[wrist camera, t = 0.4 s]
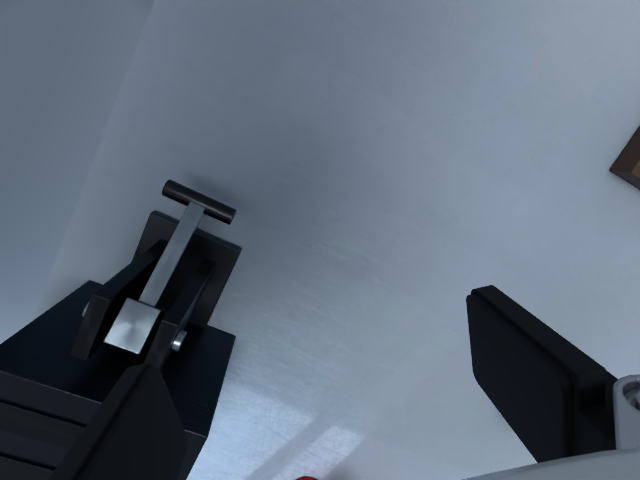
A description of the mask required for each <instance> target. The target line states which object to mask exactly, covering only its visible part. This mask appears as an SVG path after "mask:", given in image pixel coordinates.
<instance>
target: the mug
mask: <svg viewBox="0 0 640 480" xmlns="http://www.w3.org/2000/svg"><path fill="white" fill-rule="evenodd" d="M298 480H315V479H313V478H308V477H303V478H300V479H298Z"/></svg>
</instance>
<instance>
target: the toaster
mask: <svg viewBox="0 0 640 480" xmlns="http://www.w3.org/2000/svg"><path fill="white" fill-rule="evenodd" d="M101 286H103V285H101V284H98V283H95V282H93V281H90V280H89V281H88V282H86V283H85V284H84V285H82V286H81V287H79V288H78V289H77V290H75V291H74V292H72V293H71V294H70V295H68V296H67V297H65V298H64V299H63V300H61V301H60V302H59V303H57V304H56V305H54V306H53V307H52V308H50V309H49V310H47V311H46V312H45V313H43V314H42V315H40V316H39V317H38V318H36V319H35V320H33V321H32V322H31V323H29V324H28V325H27V326H25V327H24V328H22V329H21V330H20V331H18V332H17V333H15V334H14V335H13V336H12V337H10V338H8V339H7V340H6V341H4V342H3V343H2V344H0V480H48V479H49V478H50V476H51V475H52V473H53V472H54V471H55V469H56V468H57V466H58V465H59V464H60V462H61V461H62V459H63V458H64V457H65V455H66V454H67V452H68V451H69V449H70V448H71V447H72V445H73V444H74V442H75V441H76V440H77V438H78V437H79V435H80V434H81V433H82V431H83V430H84V428H85V427H86V425H87V424H88V423H89V421H90V420H91V418H92V417H93V416H94V414H95V413H96V411H97V410H98V409H99V407H100V406H101V404H102V403H103V402H104V400H105V399H106V397H107V396H108V394H109V393H110V392H111V390H112V389H113V387H114V386H115V385H116V383H117V382H118V380H119V379H120V378H121V376H122V375H123V373H124V372H125V370H126V369H127V368H129V367H132V366H136V365H141V364H143V363H144V361H145V359H146V356H147V354H148V352H149V349H150V347H151V345H152V342H153V340H154V338H155V335H156V333H157V331H158V328H159V326H160V324H161V322H160V324H159V326H158V328H157V330H156V332H155V334H154V336H153V338H152V340H151V342H150V344H149V346H148V348H147V350H146V351H144V352H142V353H141V354H136V353H133V352H130V351H127V350H124V349H121V348H118V347H116V346H113V345H110V344H107V343H104V342H103V343H102V345H101V346H100V347H99V348H98V349H97V350H96V351H95V352H94V353H93V354H92V356H91V357H90V358H89V359H88V360H87V361H85V360H82V359H79V358H76V357H73V356H70V353H71V350H72V348H73V345H74V342H75V340H76V337H77V334H78V331H79V329H80V326H81V323H82V320H83V318H82V313H83V310H84V308H85V307H86V305H87V304H88V302H89V301H90V299H91V296H92V294H93V293H94V292H95V291H96V290H98V289H99V288H100V287H101ZM158 308H159V307H158ZM161 309H162V308H161ZM164 310H165V309H164ZM165 311H166V312H165V314H164V316H165V315H166V314H167V312H168V311H167V310H165ZM164 316H163V318H164ZM163 318H162V319H163ZM161 321H162V320H161ZM183 330H185V331H187V334H186V336H185V338H184V340H183V343H182V345H181V347H180V349H179V351H178V352H175V351H171V353H170V354H169V356H168V358H167V360H166V362H165V363H164V365H163V367H162V369H161V374H162V376H163V379H164V381H165V384H166V386H167V388H168V391H169V393H170V396H171V398H172V401H173V403H174V406H175V408H176V411H177V413H178V415H179V418H180V420H181V423H182V425H183V428H184V430H185V433H186V435H187V439H188V448H187V452H186V455H185V458H184V461H183V464H182V467H181V470H180V473H179V476H178V479H177V480H186V479H187V477H188V475H189V473H190V471H191V469H192V467H193V465H194V463H195V461H196V459H197V457H198V455H199V453H200V451H201V449H202V447H203V445H204V443H205V441H206V439H207V438H208V434H209V431H210V427H211V424H212V420H213V416H214V413H215V409H216V406H217V402H218V399H219V395H220V391H221V388H222V384H223V381H224V377H225V373H226V370H227V366H228V363H229V359H230V355H231V352H232V348H233V345H234V341H235V338H236V336H234V335H231V334H229V333H226V332H224V331H221V330H218V329H216V328H213V327H210V326H208V325H204V324H201V323H199V322H196V321H193V320H191V319H189V320H188V322H187V324H186V326H185V327H184V329H183Z"/></svg>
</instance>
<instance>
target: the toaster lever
mask: <svg viewBox="0 0 640 480" xmlns="http://www.w3.org/2000/svg"><path fill="white" fill-rule="evenodd" d="M162 195H163V196H166V197H168V198H170V199H172V200H175V201H177V202H179V203H181V204H184V205H186V206H188V207H187V208H186V210H185V212H184V214H183V216H182V218H181V220H180V222H179V224H178V226H177V227H176V229H175V231H174V233H173V235H172V237H171V239H170V241H169V243H168V244H167V246H166V248H165V250H164V252H163V254H162V256H161V258H160V260H159V262H158V263H157V265H156V267H155V269H154V271H153V273H152V275H151V277H150V279H149V280H148V282H147V284H146V286H145V288H144V290H143V292H142V294H141V296H140V298H139V299H138V300H137V299H134V298H126V299H125V301H124V303H123V305H122V307H121V309H120V310H119V312H118V314H117V316H116V318H115V320H114V322H113V323H112V325H111V327H110V329H109V331H108V333H107V335H106V336H105V338H104V340H103V342H104V343H107V344H110V345H113V346H116V347H118V348H121V349H124V350H127V351H130V352H133V353H136V354H141V353H142V352H144V351H146V350H147V348H148V346H149V344H150V342H151V340H152V338H153V336H154V334H155V332H156V330H157V328H158V326H159V324H160V322H161V320H162V318H163V316H164V314H165V312H166V311H165V310H164V309H161V308H158V307H157V306H158V304H159V302H160V300H161V298H162V296H163V294H164V293H165V291H166V289H167V287H168V285H169V283H170V281H171V279H172V277H173V275H174V273H175V271H176V269H177V267H178V265H179V263H180V261H181V259H182V257H183V255H184V253H185V251H186V249H187V247H188V245H189V243H190V241H191V239H192V237H193V235H194V234H195V232H196V230H197V228H198V226H199V224H200V222H201V220H202V218H203V216H204V214H206V215H208V216H211V217H213V218H215V219H217V220H220V221H222V222H224V223H226V224H228V225H230V224H231V222H232V220H233V218H234V216H235V214H236V209H234V208H231V207H229V206H227V205H225V204H223V203H221V202H218V201H216V200H214V199H212V198H210V197H207V196H205V195H203V194H201V193H199V192H196V191H194V190H192V189H190V188H188V187H185V186H183V185H181V184H179V183H177V182H175V181H172V180H168V181H167V182H166V183H165V185H164V187H163V190H162Z"/></svg>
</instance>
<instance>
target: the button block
mask: <svg viewBox="0 0 640 480" xmlns="http://www.w3.org/2000/svg"><path fill="white" fill-rule="evenodd" d="M610 171H611V172H613V173H614V174H616V175H618V176H619V177H621V178H623V179H624V180H626V181H627V182H629V183H631V184H632V185H634V186H636V187H637V188H639V189H640V127H639V128H638V130H637V131H636V133H635V134H634V136H633V137H632V138H631V140H630V141H629V143H628V144H627V146H626V147H625V149H624V150H623V151H622V153H621V154H620V156H619V157H618V159H617V160H616V162H615V163H614V164H613V166H612V167H611V169H610Z"/></svg>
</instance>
